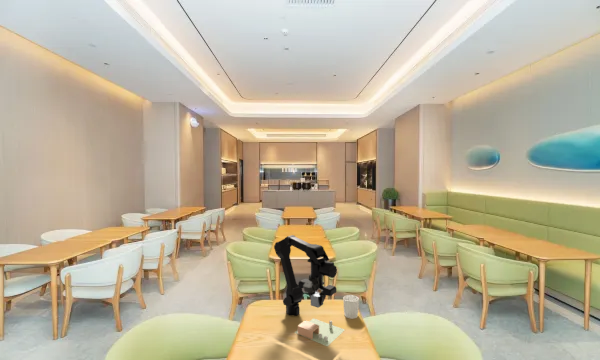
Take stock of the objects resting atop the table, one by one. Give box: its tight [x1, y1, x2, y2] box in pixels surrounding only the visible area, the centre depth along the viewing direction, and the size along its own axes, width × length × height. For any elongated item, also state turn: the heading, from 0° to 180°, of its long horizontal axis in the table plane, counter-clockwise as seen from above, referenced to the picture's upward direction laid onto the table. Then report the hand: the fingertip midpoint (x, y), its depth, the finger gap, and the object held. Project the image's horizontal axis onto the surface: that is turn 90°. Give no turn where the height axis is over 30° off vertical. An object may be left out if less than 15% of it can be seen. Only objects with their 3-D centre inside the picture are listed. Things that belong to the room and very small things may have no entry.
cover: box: [297, 320, 319, 340], centre depth 137 cm, size 8×6×4 cm
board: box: [294, 317, 346, 347], centre depth 139 cm, size 18×16×4 cm
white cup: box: [342, 294, 360, 320], centre depth 154 cm, size 8×8×10 cm
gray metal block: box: [310, 291, 324, 309], centre depth 143 cm, size 4×4×5 cm
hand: (317, 304), depth 143 cm, fingers closed on gray metal block, 4 cm apart
